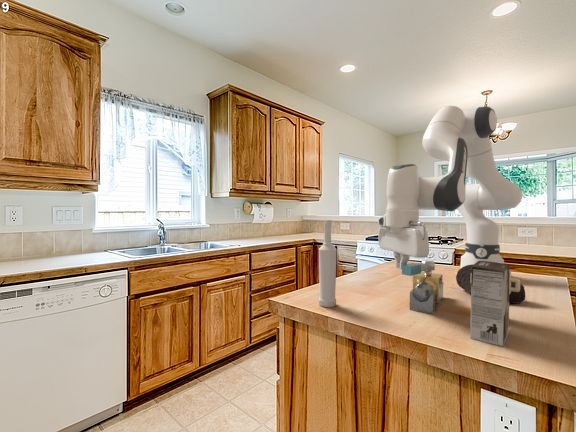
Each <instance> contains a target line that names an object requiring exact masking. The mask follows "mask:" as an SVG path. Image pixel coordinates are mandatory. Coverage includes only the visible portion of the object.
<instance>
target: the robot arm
mask: <svg viewBox="0 0 576 432" xmlns="http://www.w3.org/2000/svg"><path fill="white" fill-rule="evenodd" d="M497 117H498V116H497V114H496V112H495V110H494V109H493V108H491V106H479V107H477V108H471V109H464V110H462V109H461V108H460V107H458V106H455V105H447V106H444V107H442V108H440V109H439V110H438V111H437V112H436V113H435V114H434V115H433V117H432V119H431V120H430V122H429V123H428V125H427V127H426V129H425V131H424V133H423V137H422V141H421V142H422V148H423V149H424V151H425V152H426V154H427V155H429V156H430V157H431V158H434V159H436V160H442V161H443V160H444V161H448V167H447V172H446V173H444V174H442V175H440V176H439V175H438V176H430V177H429V176H427V177H421V176H420V175H419V169H418V165H416V164H413V163H408V164H398V165H394V166H392V167H390V168H389V170H388V173H387V179H386V200H387V205H386V207H385V213H384V214H383V215H382V216H380V217H379V218H378V219H377V225H378V237H377V238H378V246H379V248H380V249H382V250H386V251H389V252H393V253H392V254H393V259H394V261H395V267H396V269H399V270H402V265H405V264H408V262H409V260H410V258H415V259H417V258H418V259H419V258H421V259H423V258H428V256H429V255H430V243H429V240H430V239H429V234H428V231H427V228H426V226H425V224H423V221H422V222H421V221H420V220H419V219H420V217H419V216H420V210H423V211H424V210H426V211H427V210H431V211H432V210H433V211H435V210H436V211H444V212H445V211H446V212H454V211H456V210H457V211H458V212H459V213H460V215H461V216H462V218H463V219H464V222H465V223H464V224H465V228H466V229H465V230H466V243H465V246H464V249H465V250H464V251H465V253H463V254H462V255H461V256H460V269H461V268H462V267H464V266H467V265H473V264H475V263H476V262H478V261H489V262H497V263H503V264H505V260H504V259H503V257H502V256H501V255H500V251H501V248H500V246H501V245H500V244H499V240H500V239H499V234H500V233H499V231H500V229H499V225H498V224H497V223H496V222H495V221H494V220H492V219H490V218H488V217H487V216H485V214H484V211H502V210H503V211H505V210H509V209H514V208H517V206H519V205H520V203H521V201H522V199H523V191H522V189H521V188H520V187H519V186H518V185H517V184H516V183H514V182H512V181H511V180H508V178H506V177H505V176H503V174H502V173H501V172H500V170H498V167H497V166H496V162H495V159H494V154H493V148H492V142H491V139H490V136H491V135H492V134H493V133H494V132H495V131H496V129H497V124H498V118H497ZM466 177H467V178H469V179H473V180H474V181H475V182H477V183H466ZM457 272H458V271H456V272H455V276H456V275H457Z"/></svg>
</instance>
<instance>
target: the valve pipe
mask: <svg viewBox="0 0 576 432" xmlns="http://www.w3.org/2000/svg"><path fill="white" fill-rule="evenodd" d="M442 299H444V281H443V274H442V273H434V272H433V270H432V271H429V270H426V271H422V272H421V273H420V274H416V275H413V276H412V289H411V290H410V291H409V310H411V311H416V312H421V313H426V314H432V315H433V314H434V312H435V310H436V309H435V307H436V306H435V305H436V303H437V304H439V303H440V301H441V300H442Z"/></svg>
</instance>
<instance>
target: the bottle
mask: <svg viewBox="0 0 576 432" xmlns="http://www.w3.org/2000/svg"><path fill="white" fill-rule="evenodd" d="M323 225H324V233H323V234H324V237H323V239H324V241H323V243H322V245H321V246H320V247H319V248H318V274H319V275H318V281H319V283H318V285H319V289H318V291H319V293H318V294H319V298H318V304H319V306H320V307H323V308H334V307H336V305H337V298H336V284H337V283H336V282H337V281H336V280H337V278H336V277H337V252H338V251H337V249H338V248H336V247H335V246H334V245H333V243H332V220H331V219H325V220H324V221H323Z"/></svg>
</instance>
